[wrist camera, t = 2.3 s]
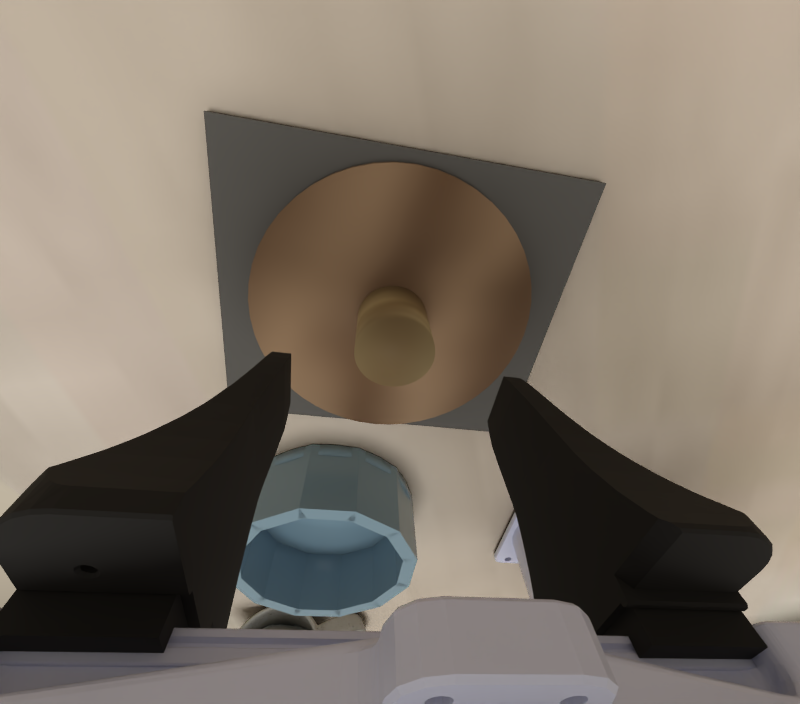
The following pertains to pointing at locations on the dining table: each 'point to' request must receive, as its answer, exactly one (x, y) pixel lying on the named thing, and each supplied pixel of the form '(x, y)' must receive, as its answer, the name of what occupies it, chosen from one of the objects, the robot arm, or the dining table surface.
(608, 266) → the dining table surface
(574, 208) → the rubber mat
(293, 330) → the walnut cover
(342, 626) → the ceramic mug
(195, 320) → the dining table surface
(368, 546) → the slate-blue bowl
